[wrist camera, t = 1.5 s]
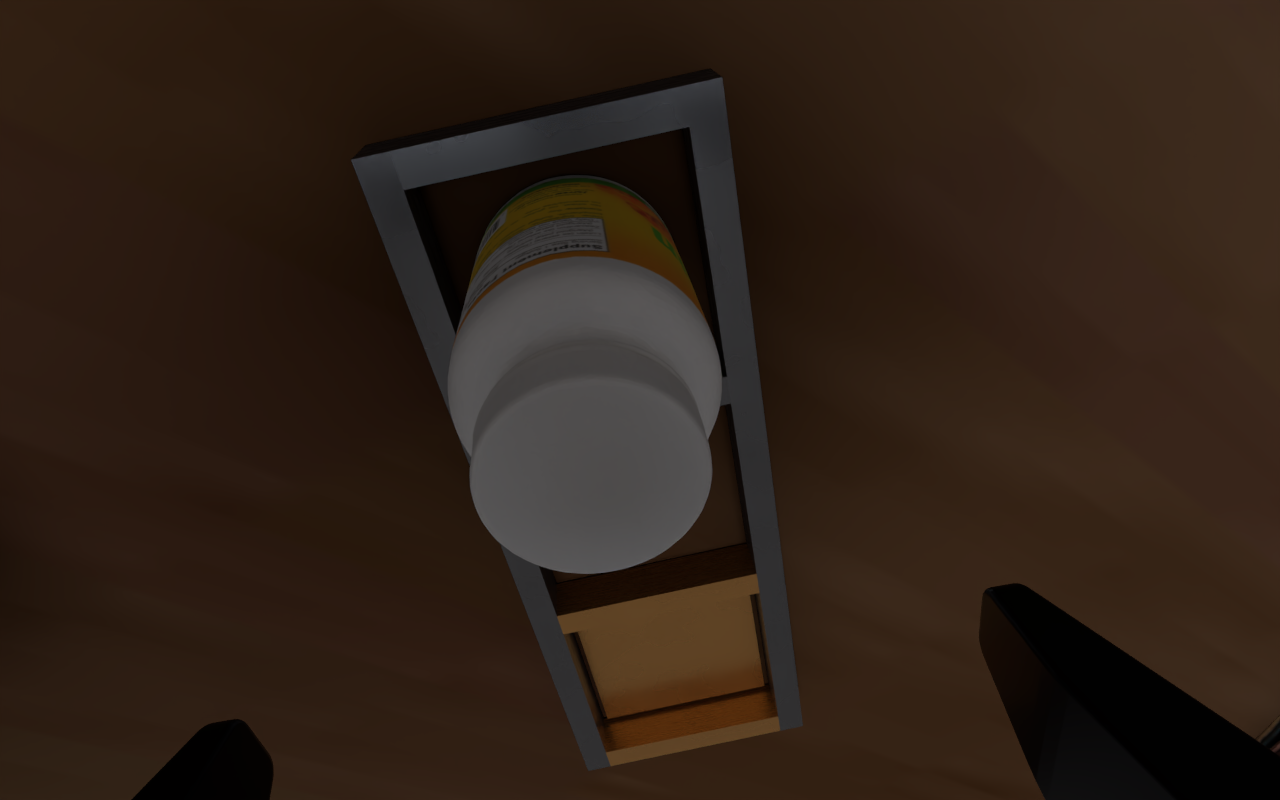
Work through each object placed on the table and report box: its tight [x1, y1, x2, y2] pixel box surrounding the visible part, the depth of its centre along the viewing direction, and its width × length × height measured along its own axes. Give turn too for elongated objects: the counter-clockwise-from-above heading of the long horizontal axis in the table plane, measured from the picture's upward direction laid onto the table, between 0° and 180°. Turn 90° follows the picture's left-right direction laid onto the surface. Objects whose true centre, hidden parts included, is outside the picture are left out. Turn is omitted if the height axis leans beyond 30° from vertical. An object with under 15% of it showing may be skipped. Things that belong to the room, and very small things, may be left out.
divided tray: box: [351, 68, 803, 771], centre depth 24 cm, size 9×24×2 cm, turn 11°
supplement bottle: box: [448, 175, 722, 574], centre depth 16 cm, size 5×5×10 cm
